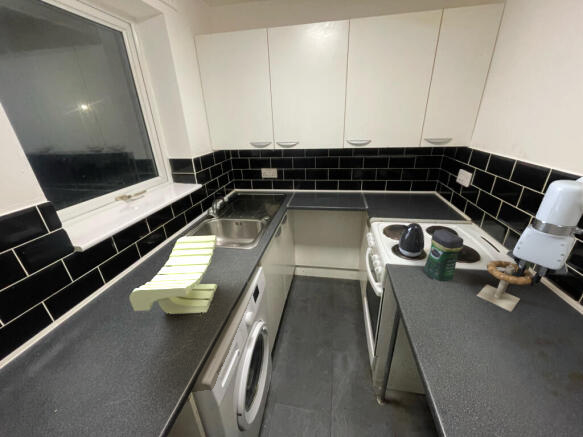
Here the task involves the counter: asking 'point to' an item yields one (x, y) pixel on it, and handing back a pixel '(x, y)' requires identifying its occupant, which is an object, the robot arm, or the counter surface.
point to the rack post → (500, 293)
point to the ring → (523, 280)
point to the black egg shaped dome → (412, 240)
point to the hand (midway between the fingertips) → (526, 280)
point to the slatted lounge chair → (180, 279)
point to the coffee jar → (443, 255)
